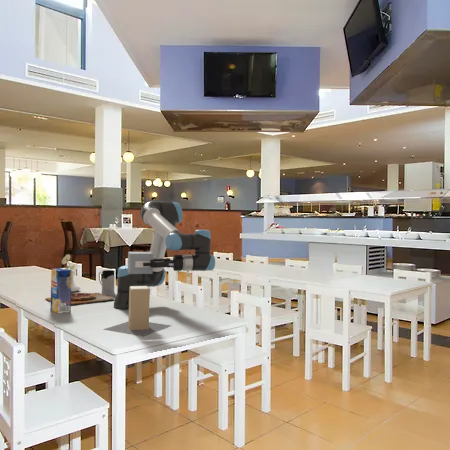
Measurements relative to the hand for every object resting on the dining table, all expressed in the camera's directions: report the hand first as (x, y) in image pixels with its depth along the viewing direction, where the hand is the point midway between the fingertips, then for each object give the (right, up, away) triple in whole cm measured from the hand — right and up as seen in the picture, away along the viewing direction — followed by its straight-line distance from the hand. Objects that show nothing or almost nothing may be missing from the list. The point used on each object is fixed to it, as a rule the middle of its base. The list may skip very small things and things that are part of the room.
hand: (133, 262), depth 197 cm
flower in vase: (-62, -27, +92) cm, 114 cm away
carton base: (+2, -30, +1) cm, 30 cm away
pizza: (-45, -29, +64) cm, 84 cm away
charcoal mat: (+2, -30, +1) cm, 30 cm away
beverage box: (-46, -29, +33) cm, 64 cm away
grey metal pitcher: (-38, -28, +89) cm, 101 cm away
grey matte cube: (+3, -4, +1) cm, 5 cm away
